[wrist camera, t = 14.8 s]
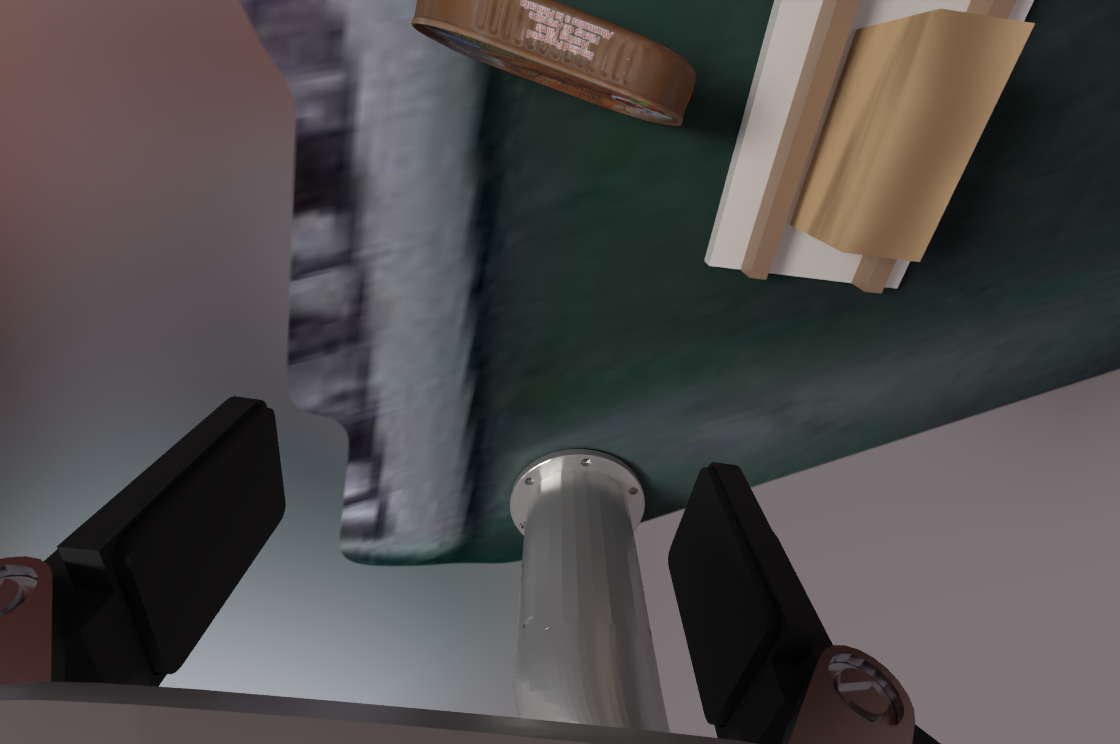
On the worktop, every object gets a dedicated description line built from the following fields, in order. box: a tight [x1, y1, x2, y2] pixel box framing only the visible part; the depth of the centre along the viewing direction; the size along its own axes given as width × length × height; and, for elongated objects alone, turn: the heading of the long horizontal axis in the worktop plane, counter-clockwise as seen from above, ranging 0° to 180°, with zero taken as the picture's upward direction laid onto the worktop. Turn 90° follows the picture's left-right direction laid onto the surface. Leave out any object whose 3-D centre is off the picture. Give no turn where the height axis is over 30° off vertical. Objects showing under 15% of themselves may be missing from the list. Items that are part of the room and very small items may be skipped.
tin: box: [411, 0, 696, 126], centre depth 26 cm, size 15×3×8 cm, turn 72°
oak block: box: [790, 9, 1035, 262], centre depth 28 cm, size 4×11×7 cm, turn 173°
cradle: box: [704, 0, 1034, 293], centre depth 30 cm, size 18×14×3 cm
